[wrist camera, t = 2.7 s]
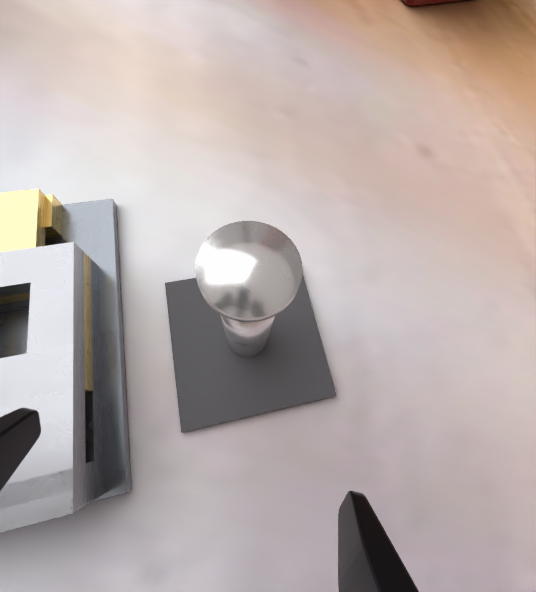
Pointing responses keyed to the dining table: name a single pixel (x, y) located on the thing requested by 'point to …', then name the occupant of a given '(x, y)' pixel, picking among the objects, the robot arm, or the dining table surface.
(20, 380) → the windowed slide housing
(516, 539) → the dining table surface
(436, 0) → the plant pot
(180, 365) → the rubber mat
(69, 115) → the dining table surface
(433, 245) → the dining table surface
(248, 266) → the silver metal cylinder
